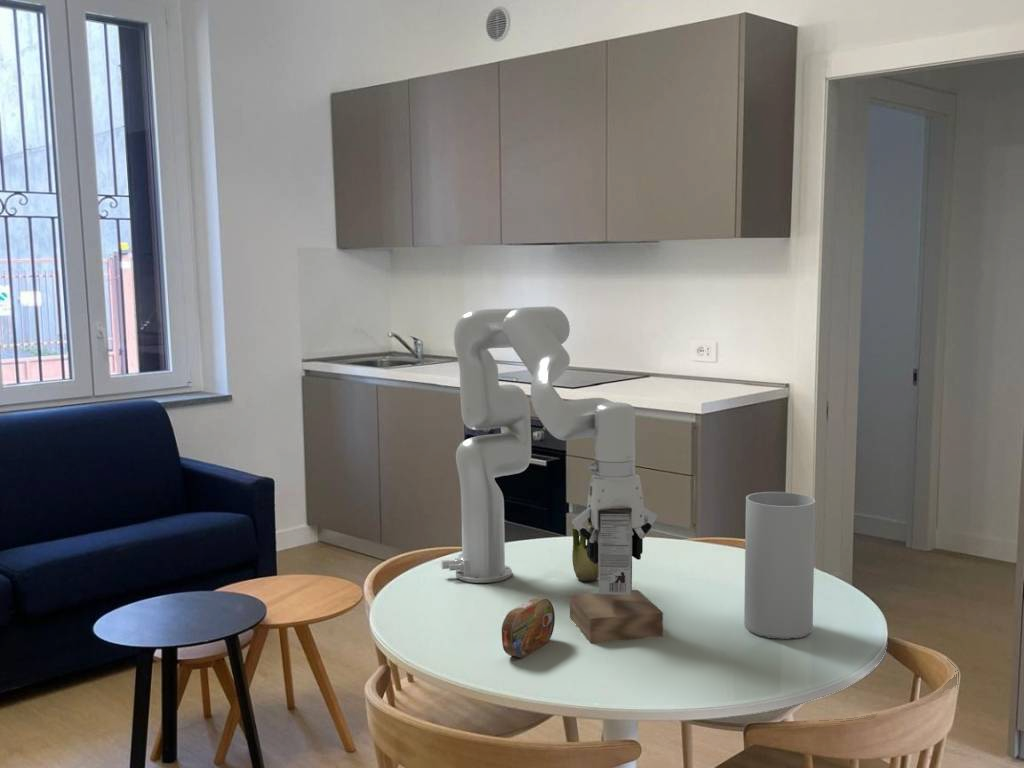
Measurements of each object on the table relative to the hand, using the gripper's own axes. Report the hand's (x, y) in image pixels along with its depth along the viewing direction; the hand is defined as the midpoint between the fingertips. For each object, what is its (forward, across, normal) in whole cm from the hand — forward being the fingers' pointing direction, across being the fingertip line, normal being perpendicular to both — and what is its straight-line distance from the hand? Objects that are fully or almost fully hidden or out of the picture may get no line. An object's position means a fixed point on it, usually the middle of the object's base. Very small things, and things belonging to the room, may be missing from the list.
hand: (614, 559), depth 193 cm
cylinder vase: (+13, +29, -10) cm, 34 cm away
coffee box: (+6, 0, 0) cm, 6 cm away
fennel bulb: (+13, +5, +30) cm, 33 cm away
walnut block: (+14, 0, 0) cm, 14 cm away
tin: (+14, -19, -6) cm, 24 cm away
